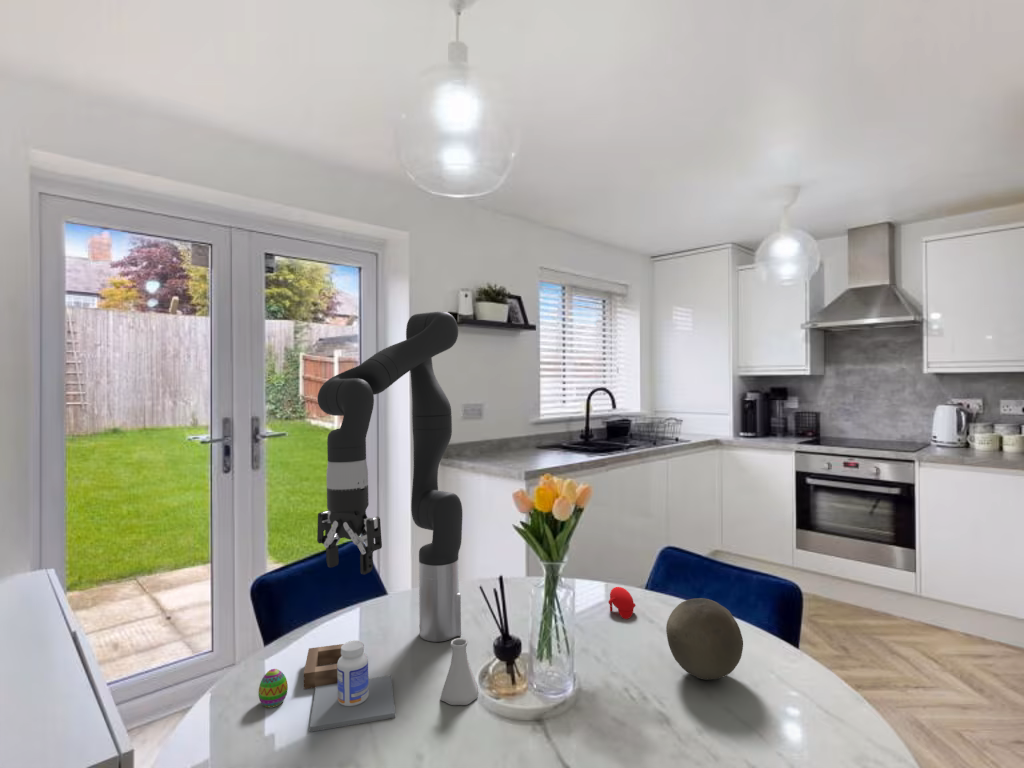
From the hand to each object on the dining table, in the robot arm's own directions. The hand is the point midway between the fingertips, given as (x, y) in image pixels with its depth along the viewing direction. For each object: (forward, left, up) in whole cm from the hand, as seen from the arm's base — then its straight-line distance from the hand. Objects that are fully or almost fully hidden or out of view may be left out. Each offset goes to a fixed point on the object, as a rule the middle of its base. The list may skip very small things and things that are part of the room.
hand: (349, 569), depth 102 cm
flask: (-20, +7, -24) cm, 31 cm away
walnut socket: (+3, -9, -23) cm, 25 cm away
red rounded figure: (-66, -18, -24) cm, 72 cm away
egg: (+14, -1, -23) cm, 27 cm away
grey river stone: (-67, +15, -23) cm, 72 cm away
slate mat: (-1, +4, -23) cm, 24 cm away
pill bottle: (-1, +4, -23) cm, 23 cm away
